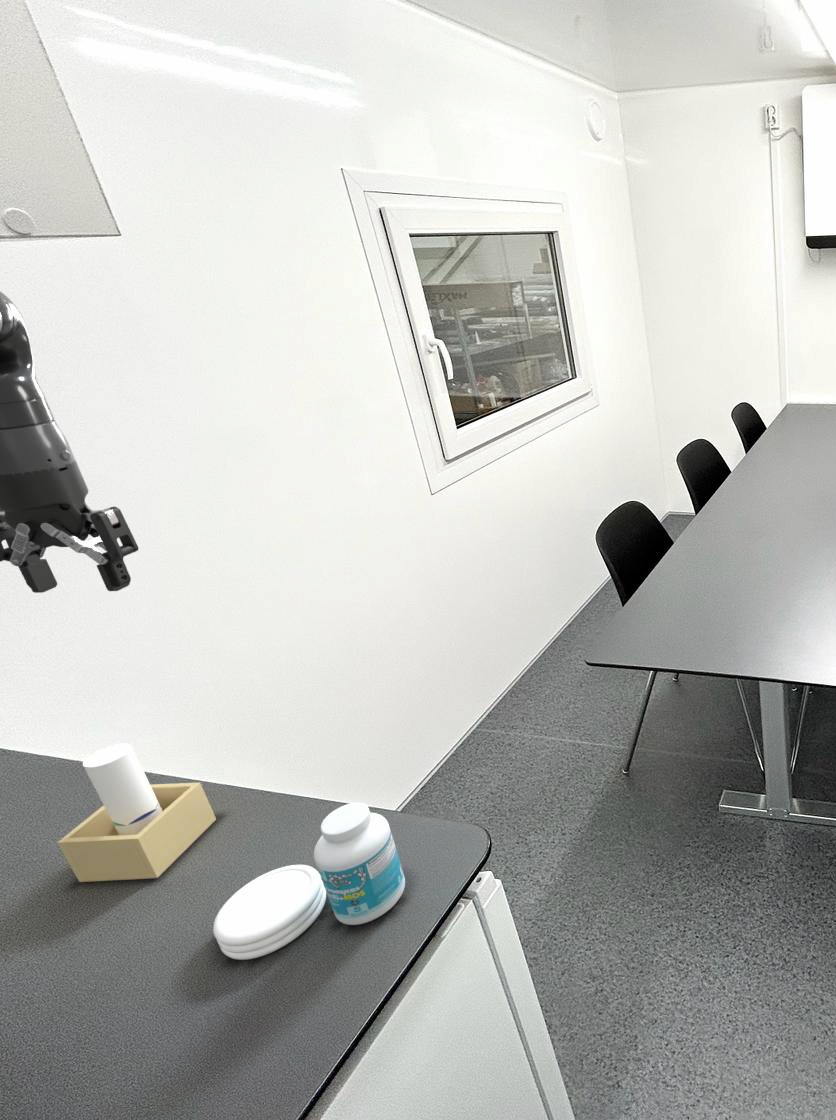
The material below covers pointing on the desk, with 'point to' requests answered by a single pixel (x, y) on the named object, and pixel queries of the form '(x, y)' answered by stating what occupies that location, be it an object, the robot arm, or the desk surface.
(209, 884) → the desk surface
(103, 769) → the tube
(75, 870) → the bin
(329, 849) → the pill bottle
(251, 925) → the white round stack
